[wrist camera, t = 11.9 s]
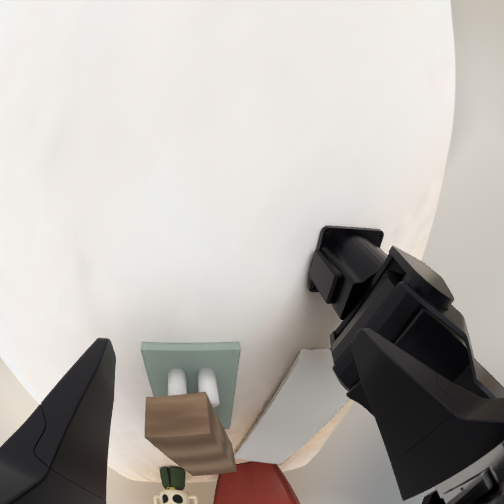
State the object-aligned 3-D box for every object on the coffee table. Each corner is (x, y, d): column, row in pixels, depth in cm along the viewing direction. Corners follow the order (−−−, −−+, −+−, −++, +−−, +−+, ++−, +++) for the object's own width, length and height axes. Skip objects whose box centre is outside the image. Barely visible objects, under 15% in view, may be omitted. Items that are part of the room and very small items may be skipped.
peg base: (238, 342, 27) (246, 380, 23) (228, 423, 36) (233, 450, 32) (141, 342, 25) (136, 381, 21) (165, 424, 34) (166, 451, 30)
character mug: (190, 464, 46) (195, 512, 35) (197, 470, 50) (203, 514, 39) (146, 464, 45) (148, 510, 34) (156, 471, 49) (159, 513, 37)
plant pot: (225, 478, 57) (234, 526, 43) (201, 465, 48) (211, 526, 33) (290, 465, 58) (304, 513, 44) (282, 450, 49) (300, 512, 34)
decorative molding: (236, 439, 47) (281, 446, 48) (233, 457, 43) (280, 464, 43) (297, 331, 32) (365, 344, 33) (299, 359, 28) (373, 371, 28)
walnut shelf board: (231, 444, 31) (236, 471, 27) (190, 448, 30) (193, 475, 26) (205, 391, 23) (210, 433, 19) (146, 397, 22) (144, 437, 18)
